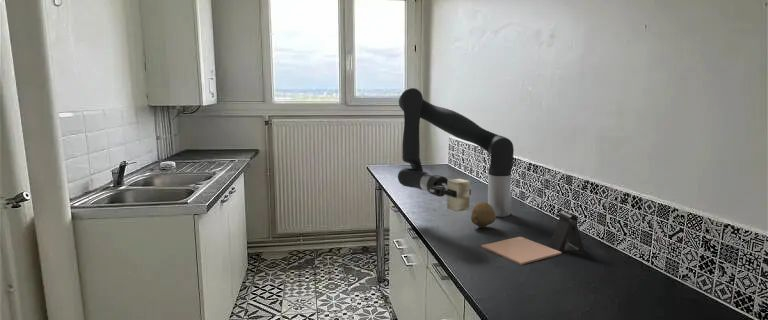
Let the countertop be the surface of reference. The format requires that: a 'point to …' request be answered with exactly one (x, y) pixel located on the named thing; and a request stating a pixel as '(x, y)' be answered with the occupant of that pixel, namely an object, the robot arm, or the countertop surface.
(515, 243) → the terracotta tile
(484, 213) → the natural sponge
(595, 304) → the countertop surface
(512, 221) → the countertop surface
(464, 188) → the maple block
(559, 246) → the phone stand
